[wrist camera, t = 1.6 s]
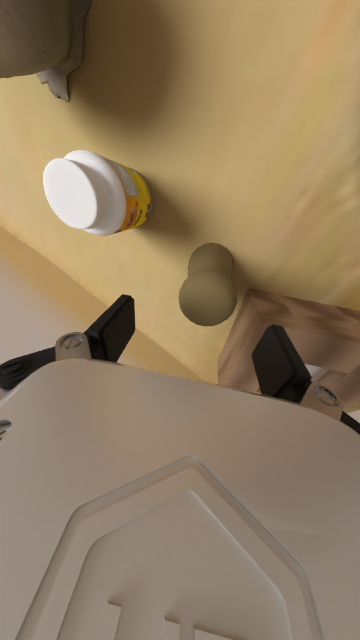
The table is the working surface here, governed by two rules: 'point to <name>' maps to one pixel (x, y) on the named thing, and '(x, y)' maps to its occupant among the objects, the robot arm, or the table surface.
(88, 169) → the supplement bottle
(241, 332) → the brown square frame
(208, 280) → the olive pear shape
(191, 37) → the table surface
